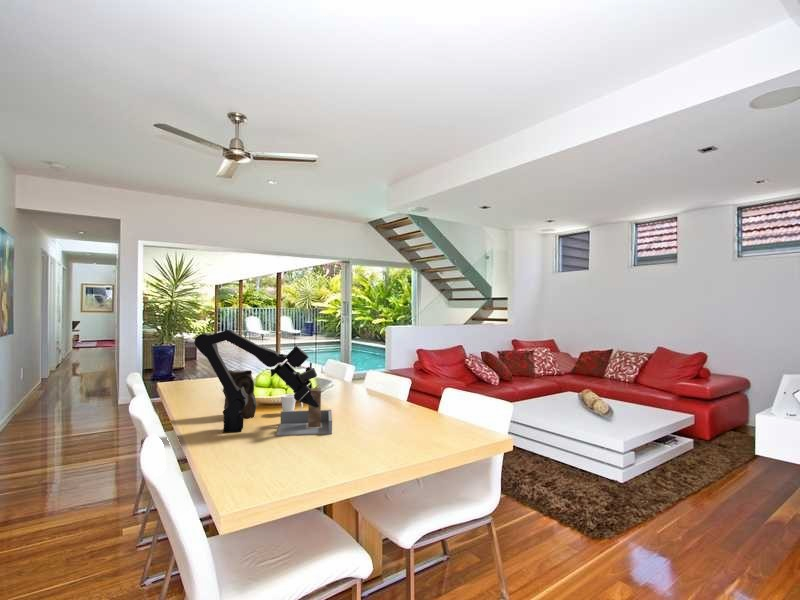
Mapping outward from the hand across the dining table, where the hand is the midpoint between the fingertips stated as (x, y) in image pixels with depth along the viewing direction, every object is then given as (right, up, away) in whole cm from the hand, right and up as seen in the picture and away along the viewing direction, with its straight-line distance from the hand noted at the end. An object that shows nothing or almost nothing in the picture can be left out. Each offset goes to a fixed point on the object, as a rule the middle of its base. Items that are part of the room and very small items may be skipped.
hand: (318, 403), depth 166 cm
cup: (-15, -9, +19) cm, 26 cm away
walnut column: (-1, -8, 0) cm, 8 cm away
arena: (-4, -9, -3) cm, 10 cm away
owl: (-35, -9, +16) cm, 40 cm away
